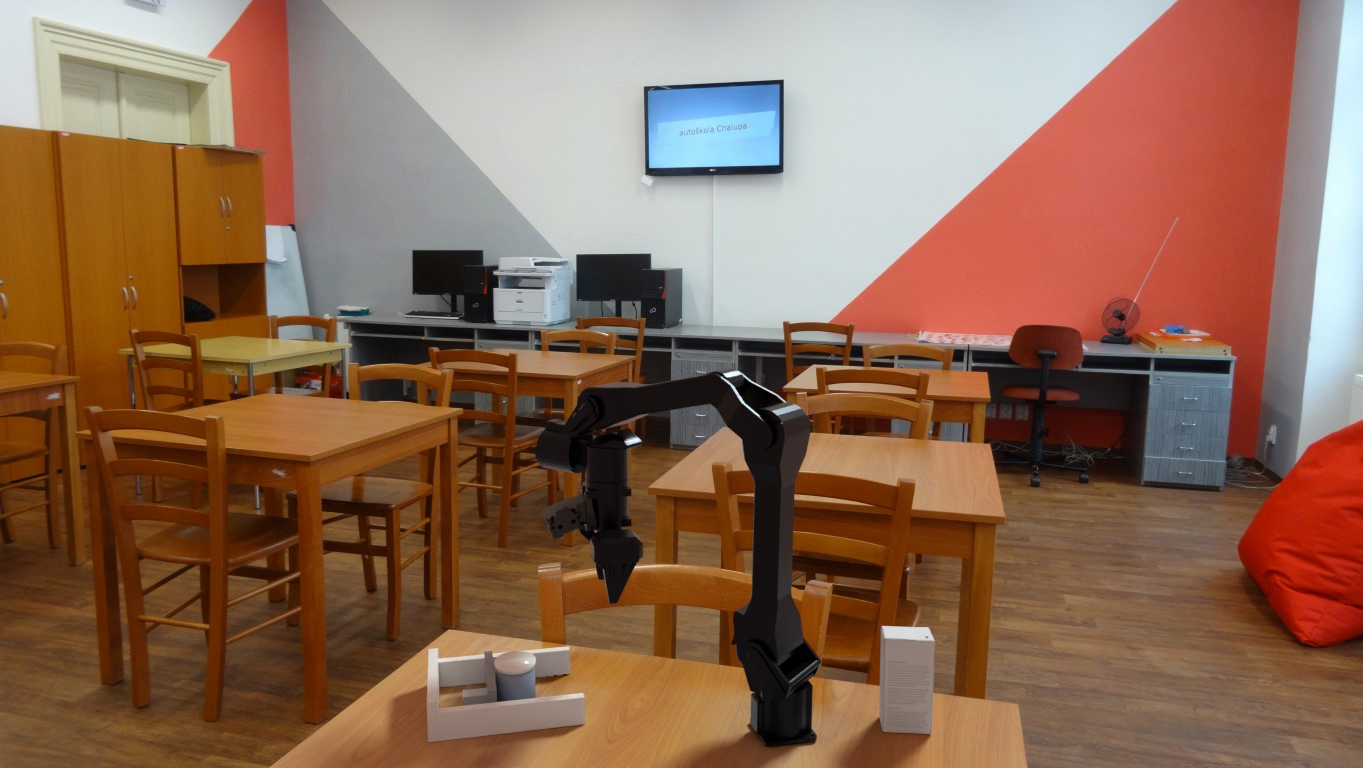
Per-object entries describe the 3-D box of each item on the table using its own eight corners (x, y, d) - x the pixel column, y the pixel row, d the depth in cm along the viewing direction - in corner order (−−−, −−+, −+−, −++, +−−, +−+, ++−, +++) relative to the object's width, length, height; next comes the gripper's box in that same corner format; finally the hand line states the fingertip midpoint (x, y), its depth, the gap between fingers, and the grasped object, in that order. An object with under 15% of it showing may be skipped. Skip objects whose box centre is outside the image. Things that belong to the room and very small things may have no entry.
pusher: (492, 681, 127) (491, 650, 127) (497, 724, 116) (496, 690, 115) (462, 685, 126) (461, 653, 126) (463, 728, 115) (462, 693, 114)
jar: (534, 691, 126) (533, 649, 125) (538, 709, 121) (537, 666, 120) (494, 695, 124) (493, 653, 123) (496, 714, 119) (495, 670, 118)
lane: (569, 670, 132) (568, 635, 131) (585, 724, 117) (584, 685, 116) (430, 684, 127) (428, 648, 127) (428, 742, 112) (426, 702, 112)
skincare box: (926, 718, 119) (930, 626, 117) (932, 735, 115) (936, 640, 113) (877, 715, 119) (880, 624, 118) (880, 732, 115) (884, 638, 113)
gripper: (538, 465, 133) (540, 572, 136) (553, 499, 115) (555, 622, 118) (617, 461, 136) (618, 566, 138) (643, 494, 118) (643, 614, 120)
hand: (607, 590), depth 129 cm, fingers open, 9 cm apart
